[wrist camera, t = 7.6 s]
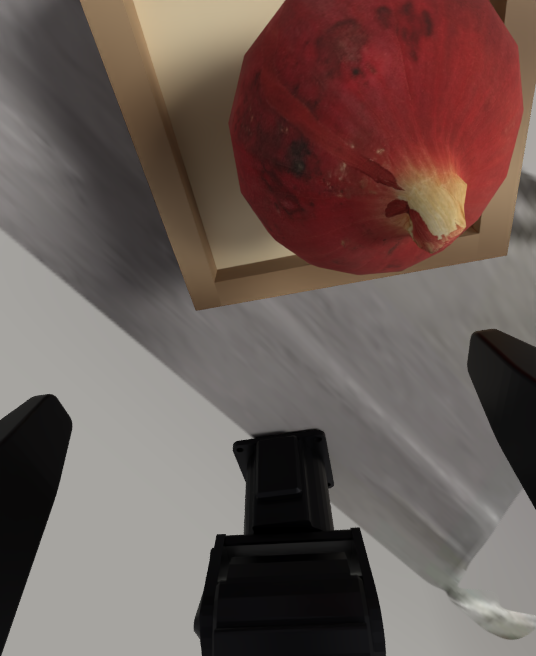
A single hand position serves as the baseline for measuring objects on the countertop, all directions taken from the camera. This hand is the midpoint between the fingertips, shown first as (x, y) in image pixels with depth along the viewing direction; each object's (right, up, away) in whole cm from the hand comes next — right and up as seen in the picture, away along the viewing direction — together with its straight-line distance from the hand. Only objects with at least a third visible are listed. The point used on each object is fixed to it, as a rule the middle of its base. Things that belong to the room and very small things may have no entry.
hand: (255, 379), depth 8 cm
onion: (+2, +8, +3) cm, 9 cm away
